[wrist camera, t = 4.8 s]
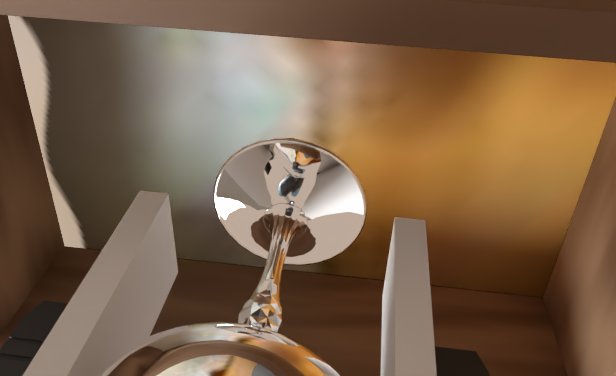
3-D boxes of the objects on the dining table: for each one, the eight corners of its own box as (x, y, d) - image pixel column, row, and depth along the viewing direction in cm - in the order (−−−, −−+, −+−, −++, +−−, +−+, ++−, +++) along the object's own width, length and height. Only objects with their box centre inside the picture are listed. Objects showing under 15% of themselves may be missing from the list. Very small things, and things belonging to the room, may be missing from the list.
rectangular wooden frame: (-50, -89, 18) (-221, -48, 13) (704, -40, 16) (846, 29, 11) (46, 261, 25) (-37, 372, 20) (561, 318, 24) (607, 453, 19)
